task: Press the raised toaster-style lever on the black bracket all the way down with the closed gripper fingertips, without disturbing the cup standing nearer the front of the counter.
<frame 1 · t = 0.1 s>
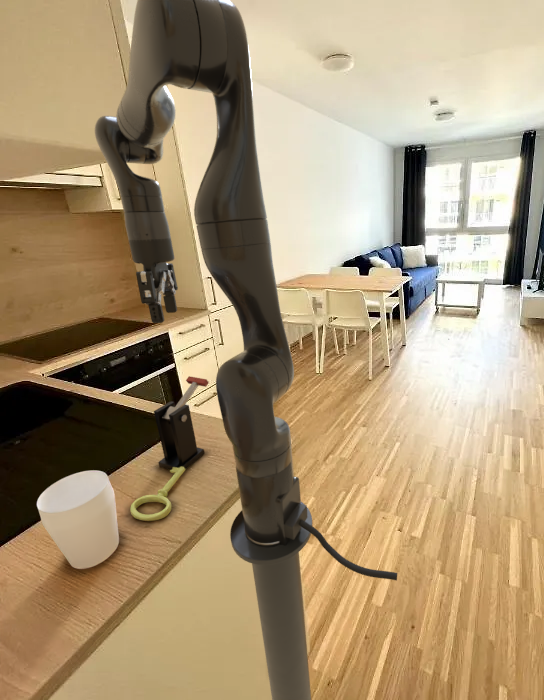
hand: (165, 317, 76), 30 cm above the counter, tool pointing down, fingers open, 8 cm apart
key: (163, 498, 67), on the counter
lever: (184, 399, 76), point 13 cm above the counter, hinge at 28.0°
cup: (95, 551, 57), on the counter
bracket: (182, 460, 78), on the counter
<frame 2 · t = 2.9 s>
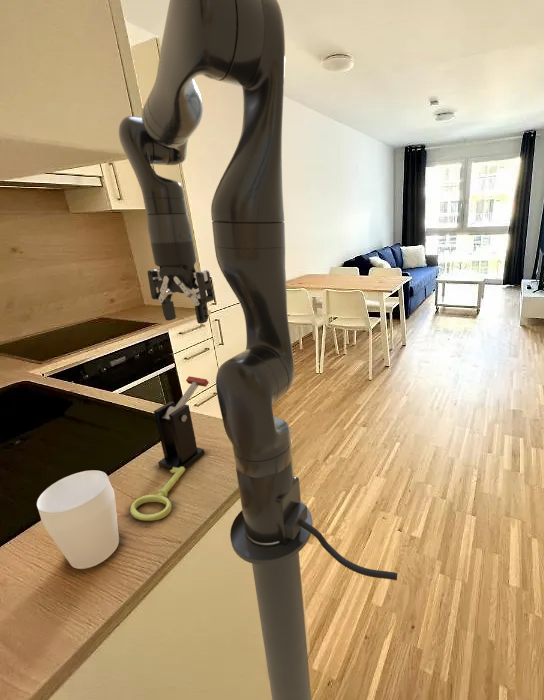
hand: (186, 321, 74), 29 cm above the counter, tool pointing down, fingers open, 8 cm apart
nothing on the counter moved.
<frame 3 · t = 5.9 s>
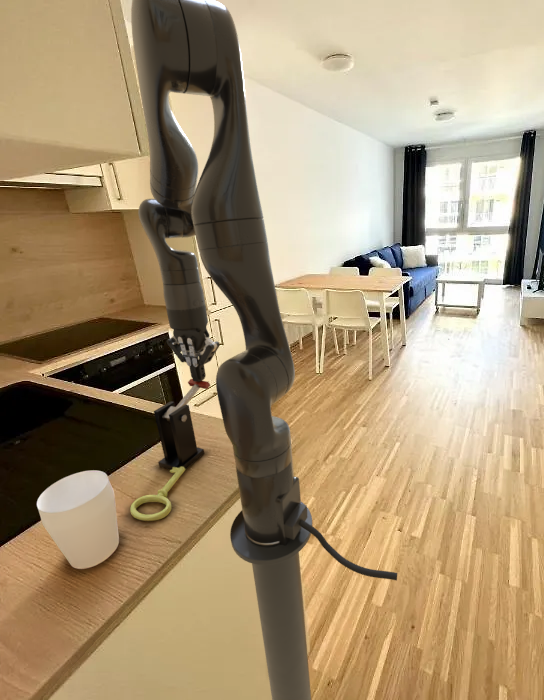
hand: (199, 380, 80), 15 cm above the counter, tool pointing down, fingers closed
lever: (185, 400, 77), point 13 cm above the counter, hinge at 22.6°, touching gripper
everything else where it was.
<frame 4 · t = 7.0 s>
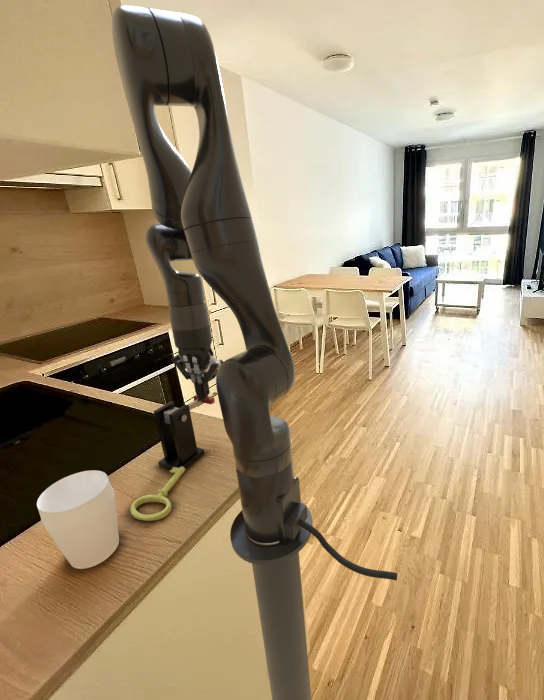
hand: (203, 396, 82), 11 cm above the counter, tool pointing down, fingers closed
lever: (188, 407, 77), point 11 cm above the counter, hinge at -4.7°, touching gripper
everything else where it was.
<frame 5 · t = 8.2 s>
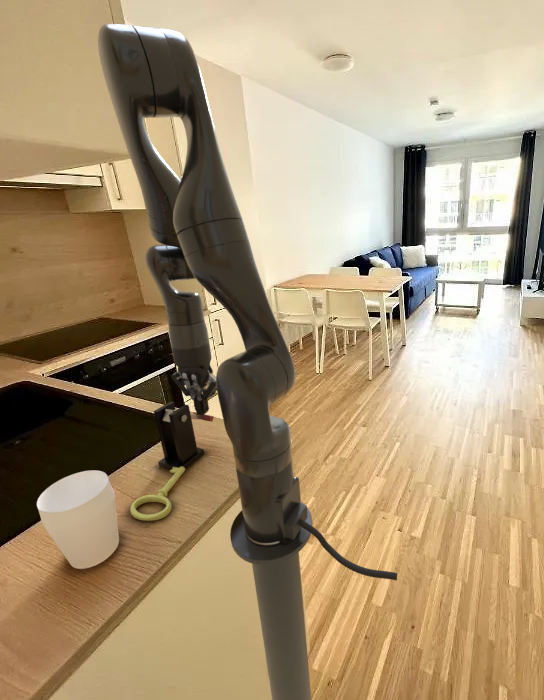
hand: (202, 412, 82), 7 cm above the counter, tool pointing down, fingers closed
lever: (187, 416, 78), point 9 cm above the counter, hinge at -31.0°, touching gripper
everything else where it was.
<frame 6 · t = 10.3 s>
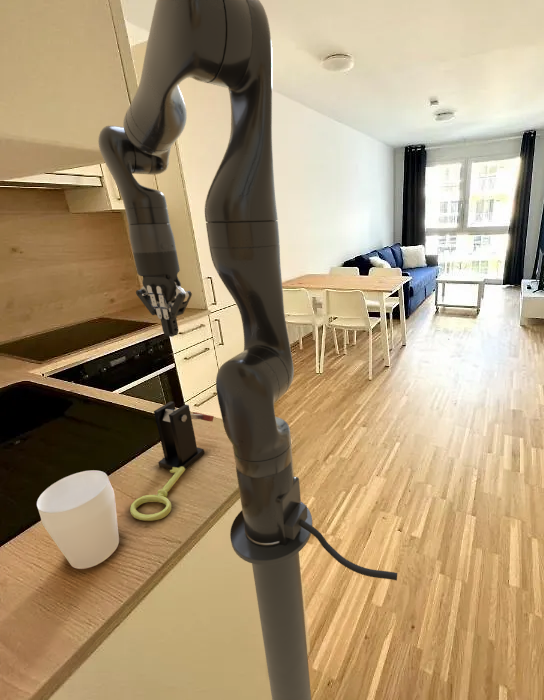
hand: (171, 335, 74), 26 cm above the counter, tool pointing down, fingers closed
lever: (187, 416, 78), point 9 cm above the counter, hinge at -30.9°
everything else where it was.
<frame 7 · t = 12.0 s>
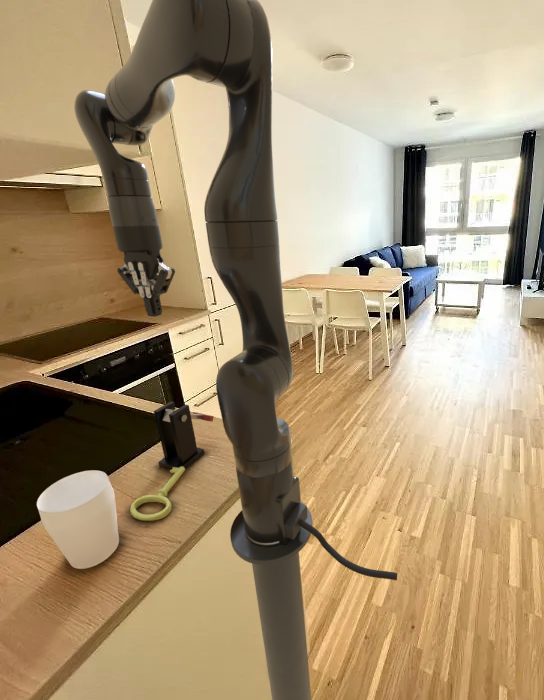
hand: (154, 315, 72), 31 cm above the counter, tool pointing down, fingers closed
nothing on the counter moved.
at the end: lever at -31° (first picture: +28°); cup moved 0.2 cm from its start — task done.
